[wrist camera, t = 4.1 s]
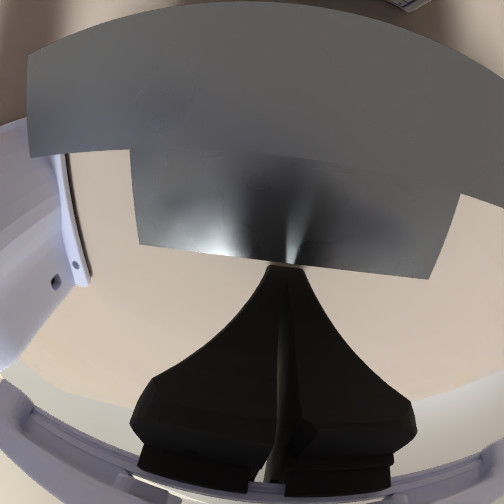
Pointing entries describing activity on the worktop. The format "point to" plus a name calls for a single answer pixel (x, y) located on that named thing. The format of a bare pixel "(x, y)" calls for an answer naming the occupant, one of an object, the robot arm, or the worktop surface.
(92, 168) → the worktop surface
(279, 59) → the bookend
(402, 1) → the medicine box
